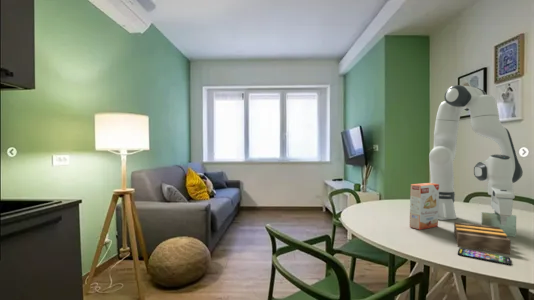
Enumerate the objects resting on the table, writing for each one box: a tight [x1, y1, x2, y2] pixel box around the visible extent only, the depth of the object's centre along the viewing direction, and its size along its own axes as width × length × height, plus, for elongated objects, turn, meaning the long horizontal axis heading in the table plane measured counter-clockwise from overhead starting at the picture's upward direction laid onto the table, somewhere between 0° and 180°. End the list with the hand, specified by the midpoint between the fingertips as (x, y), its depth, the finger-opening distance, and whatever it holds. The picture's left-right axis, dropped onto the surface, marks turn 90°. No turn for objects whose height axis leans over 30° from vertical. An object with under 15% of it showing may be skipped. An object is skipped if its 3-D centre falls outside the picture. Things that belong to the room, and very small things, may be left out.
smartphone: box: [457, 247, 512, 266], centre depth 104 cm, size 8×1×15 cm
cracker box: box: [409, 182, 439, 231], centre depth 141 cm, size 14×6×21 cm, turn 118°
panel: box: [480, 211, 517, 238], centre depth 130 cm, size 12×2×9 cm, turn 61°
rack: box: [453, 221, 511, 255], centre depth 119 cm, size 16×20×5 cm
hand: (500, 222), depth 130 cm, fingers open, 8 cm apart
